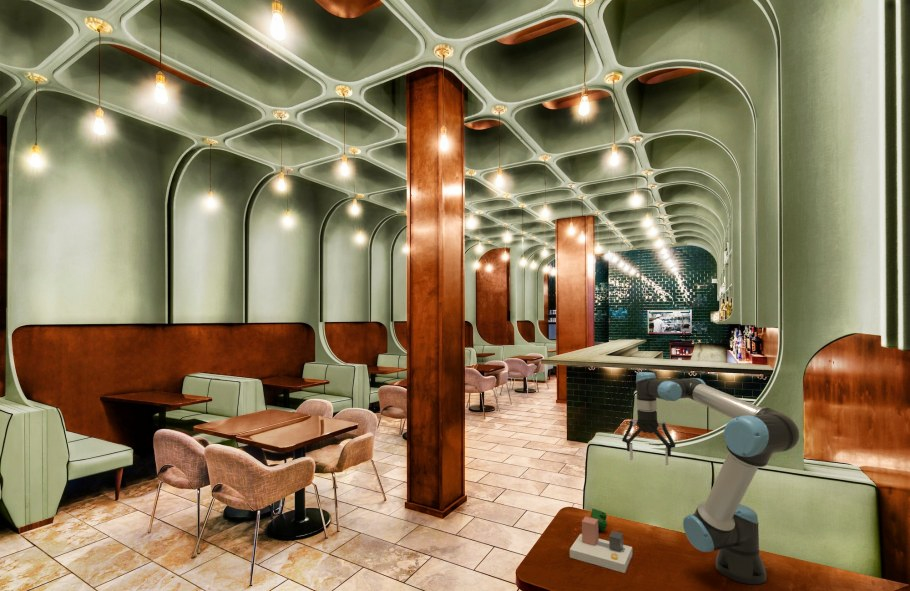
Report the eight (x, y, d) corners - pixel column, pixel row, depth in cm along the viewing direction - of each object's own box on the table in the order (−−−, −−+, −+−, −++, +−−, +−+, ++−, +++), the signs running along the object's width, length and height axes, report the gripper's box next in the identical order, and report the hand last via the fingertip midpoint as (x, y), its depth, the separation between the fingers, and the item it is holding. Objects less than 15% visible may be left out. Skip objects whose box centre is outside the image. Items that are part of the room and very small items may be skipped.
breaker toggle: (623, 545, 170) (622, 533, 170) (620, 551, 166) (620, 539, 166) (612, 543, 172) (612, 530, 172) (609, 548, 168) (609, 536, 168)
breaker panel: (632, 555, 169) (632, 544, 170) (624, 573, 158) (624, 561, 158) (580, 541, 180) (580, 531, 180) (569, 557, 168) (569, 546, 168)
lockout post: (598, 540, 175) (598, 519, 175) (595, 545, 171) (594, 524, 171) (585, 536, 177) (585, 516, 178) (582, 542, 173) (581, 521, 174)
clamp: (602, 542, 187) (607, 527, 184) (587, 537, 189) (592, 522, 185) (603, 520, 198) (608, 505, 194) (590, 515, 199) (594, 501, 196)
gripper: (680, 410, 181) (683, 463, 180) (617, 405, 193) (618, 455, 192) (680, 414, 175) (682, 469, 173) (614, 408, 187) (615, 459, 186)
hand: (648, 461), depth 183 cm, fingers open, 13 cm apart
